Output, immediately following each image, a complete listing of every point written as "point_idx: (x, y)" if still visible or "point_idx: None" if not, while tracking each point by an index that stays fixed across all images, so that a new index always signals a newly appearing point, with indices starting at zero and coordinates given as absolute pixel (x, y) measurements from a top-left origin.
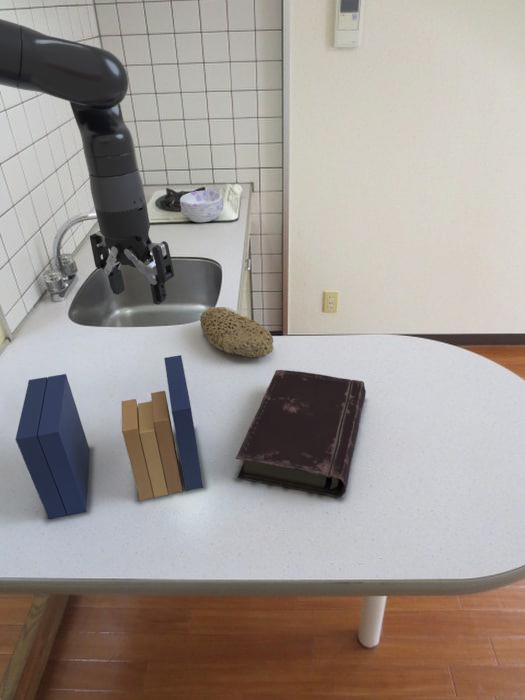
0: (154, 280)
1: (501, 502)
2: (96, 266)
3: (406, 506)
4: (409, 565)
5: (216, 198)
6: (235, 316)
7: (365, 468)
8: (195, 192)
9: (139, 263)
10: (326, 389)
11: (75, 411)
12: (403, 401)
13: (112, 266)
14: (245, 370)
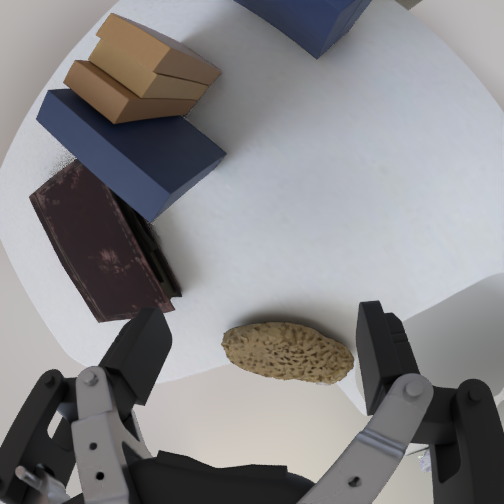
0: (82, 382)
1: (9, 249)
2: (481, 388)
3: (25, 212)
4: (5, 169)
5: (427, 466)
6: (291, 376)
7: None
8: None
9: (78, 461)
10: (108, 299)
11: (313, 26)
12: (90, 317)
13: (355, 439)
14: (241, 304)
